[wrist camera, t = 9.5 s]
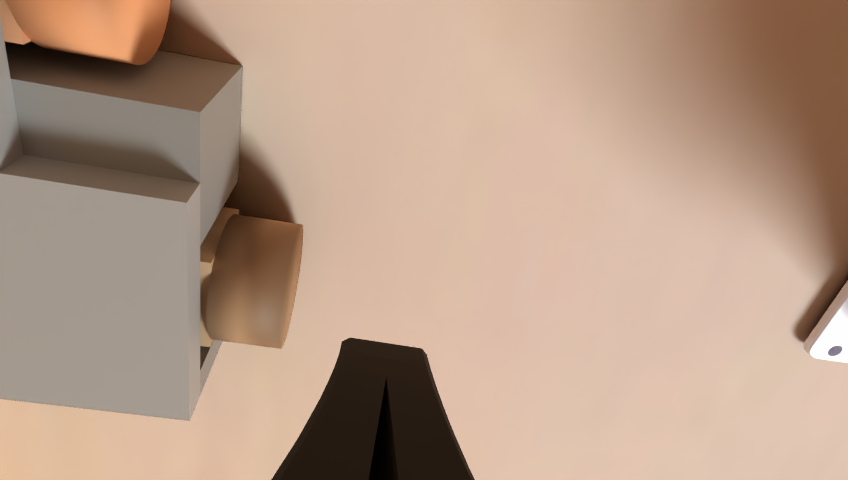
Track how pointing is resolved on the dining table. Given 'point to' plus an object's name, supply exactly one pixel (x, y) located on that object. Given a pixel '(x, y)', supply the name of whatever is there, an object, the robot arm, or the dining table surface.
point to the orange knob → (89, 26)
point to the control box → (110, 224)
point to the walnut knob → (248, 279)
